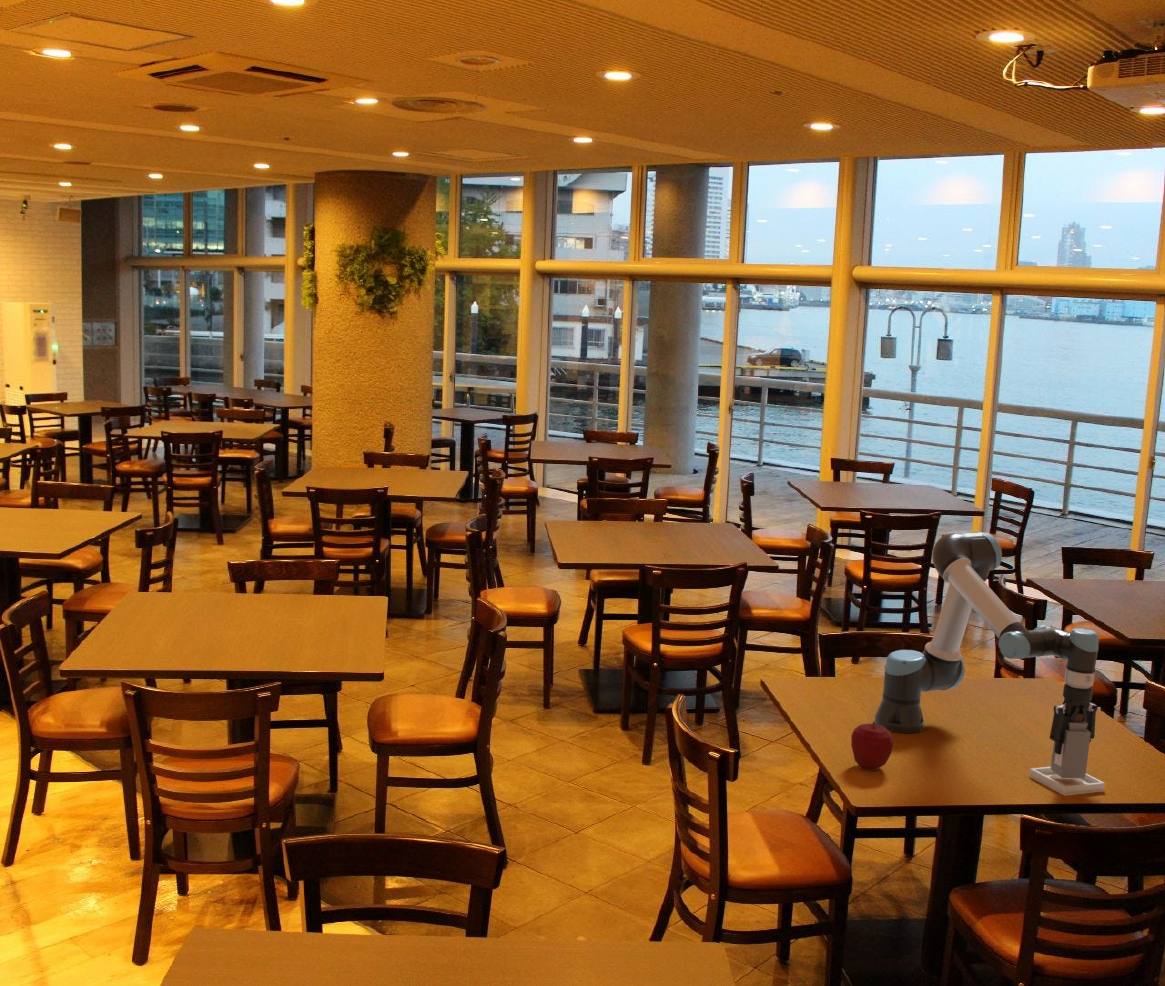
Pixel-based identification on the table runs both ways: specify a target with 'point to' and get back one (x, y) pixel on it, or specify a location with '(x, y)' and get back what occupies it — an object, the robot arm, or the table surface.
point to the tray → (1066, 782)
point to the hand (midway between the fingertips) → (1068, 763)
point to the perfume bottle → (1074, 750)
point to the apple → (871, 745)
